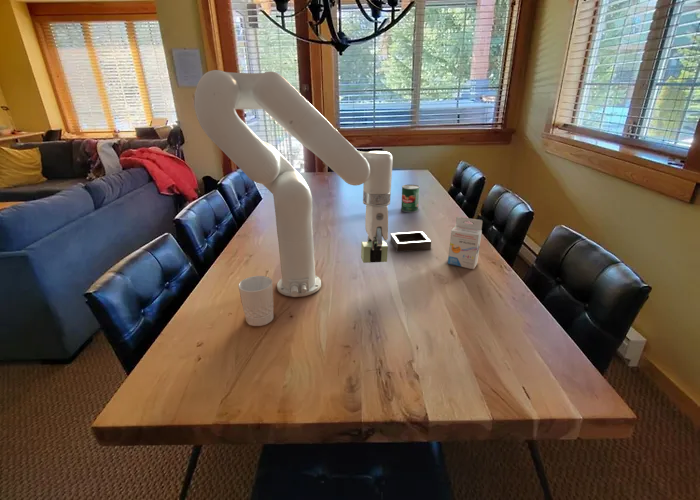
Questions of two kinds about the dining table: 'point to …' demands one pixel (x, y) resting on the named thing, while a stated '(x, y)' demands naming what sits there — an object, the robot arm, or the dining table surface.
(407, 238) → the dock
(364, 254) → the light green block
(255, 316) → the white cup
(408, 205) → the canned tomato
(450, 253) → the ink box
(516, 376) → the dining table surface
